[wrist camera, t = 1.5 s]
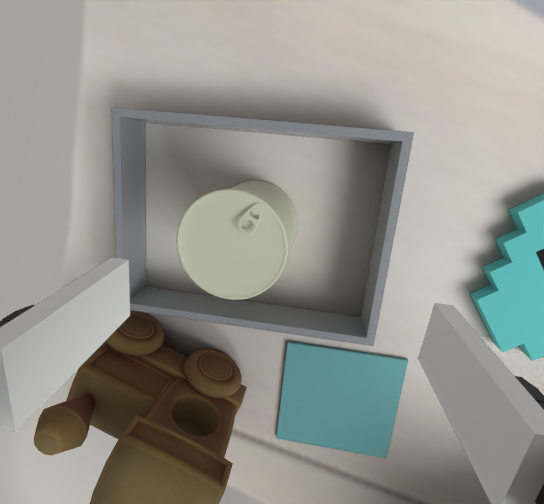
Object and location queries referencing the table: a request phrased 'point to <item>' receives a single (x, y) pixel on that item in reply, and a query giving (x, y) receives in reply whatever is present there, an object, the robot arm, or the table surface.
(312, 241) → the table surface
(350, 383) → the mat
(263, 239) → the can
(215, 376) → the wooden toy train
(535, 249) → the alien figure
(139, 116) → the crate
